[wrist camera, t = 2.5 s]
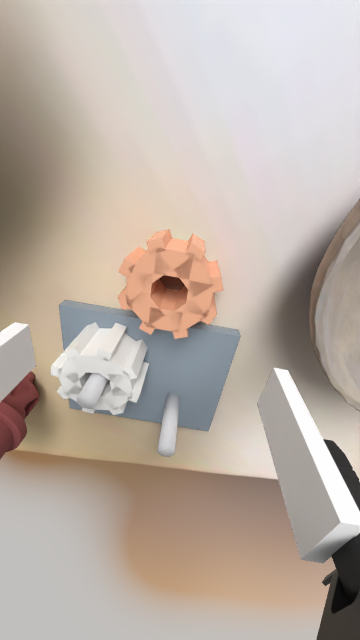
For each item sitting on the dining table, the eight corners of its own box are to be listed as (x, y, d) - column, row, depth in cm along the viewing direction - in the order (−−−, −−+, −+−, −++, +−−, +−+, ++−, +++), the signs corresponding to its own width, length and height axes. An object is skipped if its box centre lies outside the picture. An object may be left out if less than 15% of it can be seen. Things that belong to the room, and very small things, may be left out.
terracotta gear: (135, 223, 24) (119, 230, 19) (226, 239, 24) (233, 250, 19) (130, 306, 29) (116, 328, 24) (207, 319, 29) (208, 344, 24)
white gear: (67, 321, 28) (40, 347, 24) (145, 323, 28) (133, 349, 23) (84, 381, 33) (64, 412, 28) (151, 383, 32) (142, 416, 28)
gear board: (65, 299, 29) (11, 342, 21) (238, 330, 29) (254, 383, 21) (74, 400, 37) (38, 459, 29) (208, 423, 38) (210, 487, 29)
